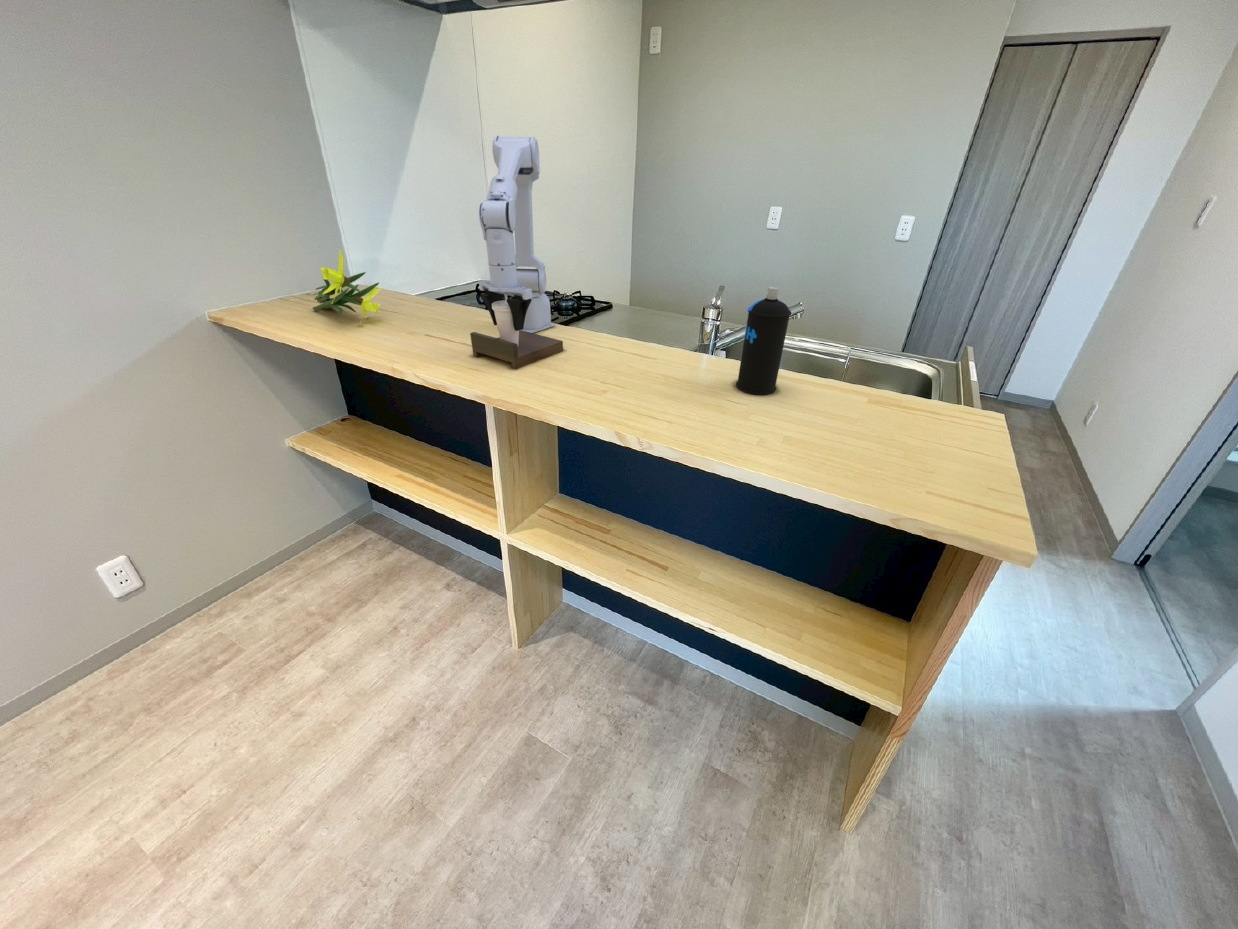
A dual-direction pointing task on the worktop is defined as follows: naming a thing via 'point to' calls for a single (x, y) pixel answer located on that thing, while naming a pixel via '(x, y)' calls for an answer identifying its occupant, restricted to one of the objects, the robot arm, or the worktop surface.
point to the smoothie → (505, 321)
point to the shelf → (516, 348)
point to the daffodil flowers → (344, 297)
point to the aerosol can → (763, 345)
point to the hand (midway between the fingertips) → (508, 327)
